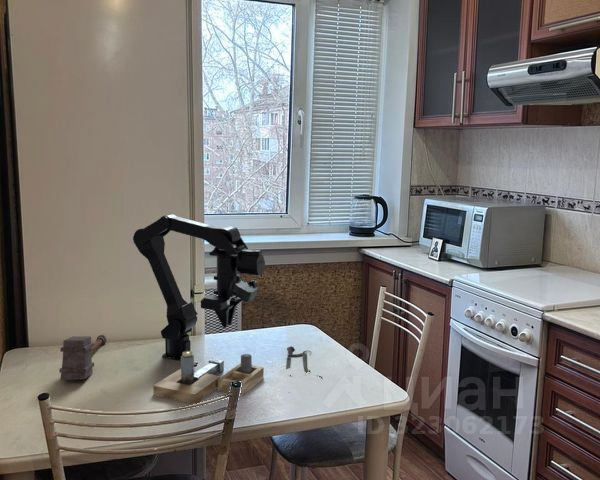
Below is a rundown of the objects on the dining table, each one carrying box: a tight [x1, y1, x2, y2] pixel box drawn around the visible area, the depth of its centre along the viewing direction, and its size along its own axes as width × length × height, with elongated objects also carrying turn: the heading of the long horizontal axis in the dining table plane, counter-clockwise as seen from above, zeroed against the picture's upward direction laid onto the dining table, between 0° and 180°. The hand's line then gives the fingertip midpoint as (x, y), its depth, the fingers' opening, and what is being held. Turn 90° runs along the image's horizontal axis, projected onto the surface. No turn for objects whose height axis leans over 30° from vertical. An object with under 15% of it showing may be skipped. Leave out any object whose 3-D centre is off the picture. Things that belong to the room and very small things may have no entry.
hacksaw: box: [285, 345, 323, 380], centre depth 166 cm, size 24×10×2 cm, turn 179°
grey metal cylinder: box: [180, 350, 195, 385], centre depth 146 cm, size 3×3×10 cm
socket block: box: [152, 368, 221, 404], centre depth 146 cm, size 12×12×2 cm
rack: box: [217, 353, 265, 397], centre depth 150 cm, size 7×12×7 cm, turn 158°
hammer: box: [58, 334, 108, 381], centre depth 164 cm, size 7×33×10 cm, turn 5°
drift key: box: [194, 358, 225, 383], centre depth 154 cm, size 4×12×3 cm, turn 158°
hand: (227, 326), depth 163 cm, fingers open, 2 cm apart
